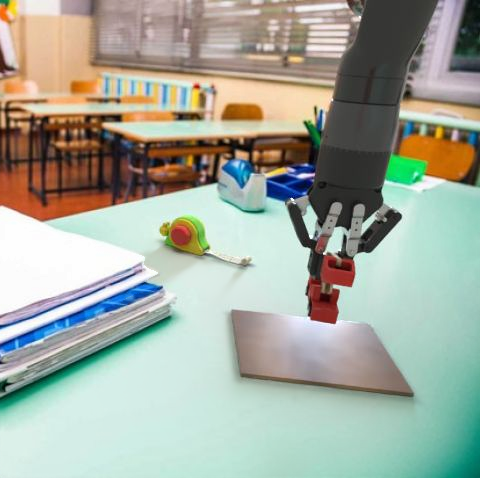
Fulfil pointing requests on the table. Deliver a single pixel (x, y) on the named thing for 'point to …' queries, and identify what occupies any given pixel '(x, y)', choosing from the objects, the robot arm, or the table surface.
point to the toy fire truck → (328, 288)
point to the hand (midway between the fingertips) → (326, 278)
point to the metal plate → (315, 353)
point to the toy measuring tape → (193, 238)
